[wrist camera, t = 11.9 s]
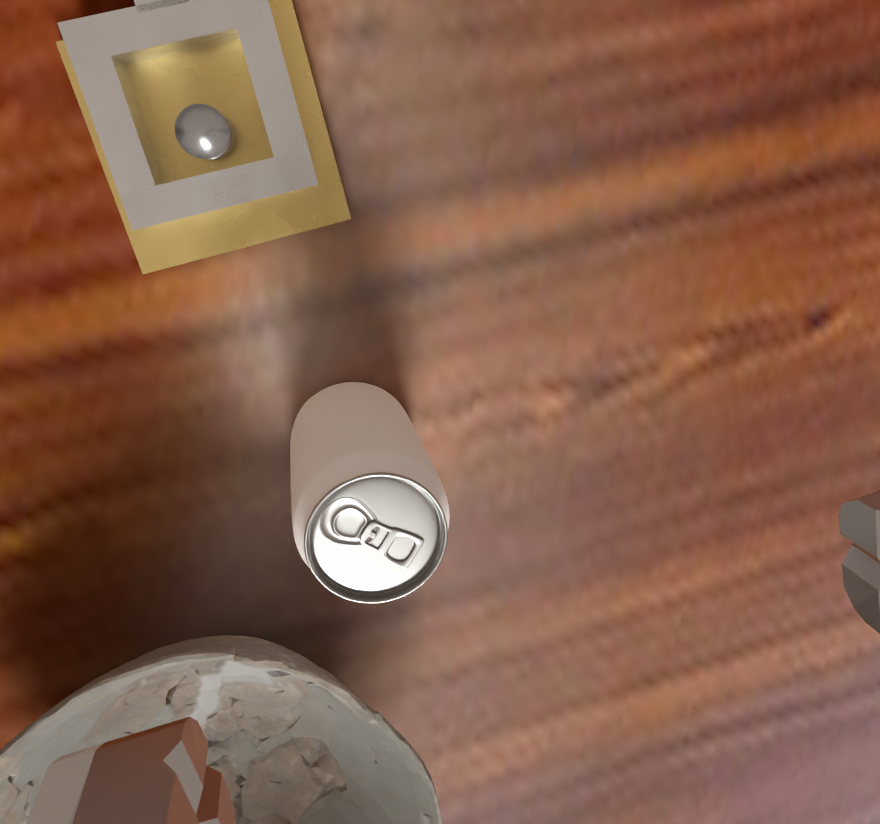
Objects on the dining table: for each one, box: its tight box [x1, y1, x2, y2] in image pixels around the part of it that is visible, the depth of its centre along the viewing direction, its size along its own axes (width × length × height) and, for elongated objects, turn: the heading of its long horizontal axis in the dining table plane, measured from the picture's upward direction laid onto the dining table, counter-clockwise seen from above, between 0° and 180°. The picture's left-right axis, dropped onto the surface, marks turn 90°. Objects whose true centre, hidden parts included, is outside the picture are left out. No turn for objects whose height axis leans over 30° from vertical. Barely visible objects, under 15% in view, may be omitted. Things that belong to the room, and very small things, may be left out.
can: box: [290, 382, 449, 604], centre depth 35 cm, size 6×6×12 cm
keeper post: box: [56, 0, 351, 274], centre depth 32 cm, size 10×10×6 cm
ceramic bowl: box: [0, 635, 442, 824], centre depth 40 cm, size 22×23×10 cm
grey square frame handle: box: [57, 0, 318, 231], centre depth 31 cm, size 14×8×3 cm, turn 13°
